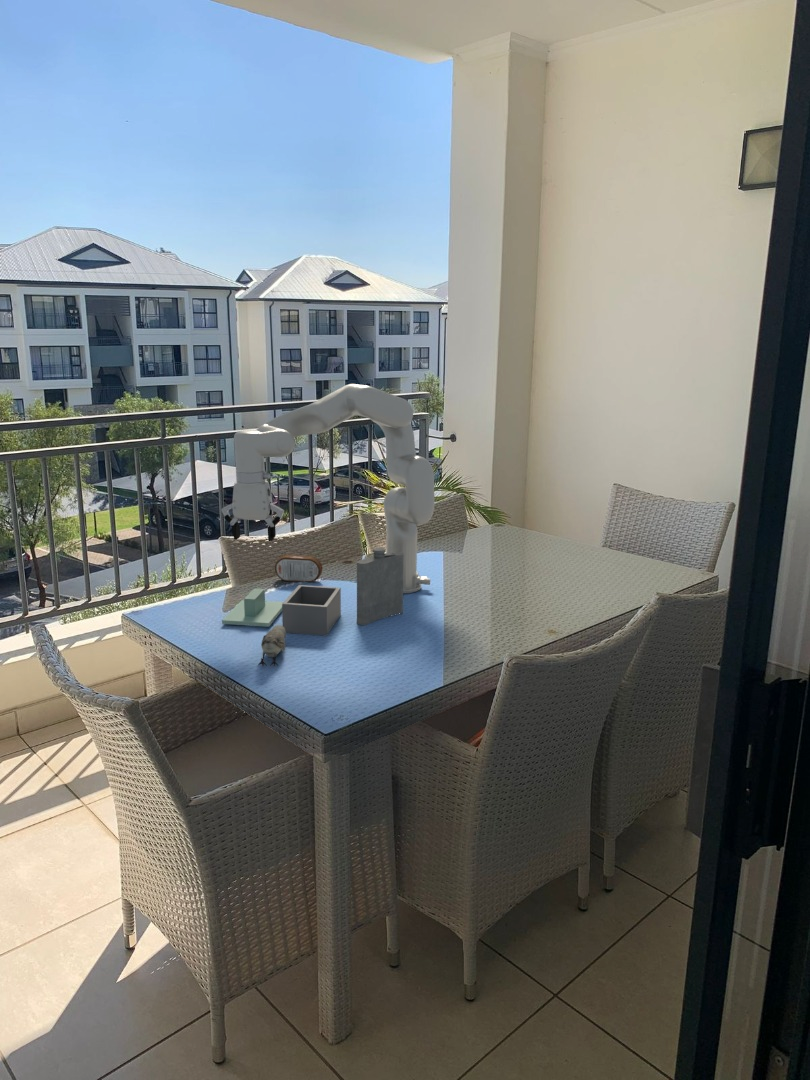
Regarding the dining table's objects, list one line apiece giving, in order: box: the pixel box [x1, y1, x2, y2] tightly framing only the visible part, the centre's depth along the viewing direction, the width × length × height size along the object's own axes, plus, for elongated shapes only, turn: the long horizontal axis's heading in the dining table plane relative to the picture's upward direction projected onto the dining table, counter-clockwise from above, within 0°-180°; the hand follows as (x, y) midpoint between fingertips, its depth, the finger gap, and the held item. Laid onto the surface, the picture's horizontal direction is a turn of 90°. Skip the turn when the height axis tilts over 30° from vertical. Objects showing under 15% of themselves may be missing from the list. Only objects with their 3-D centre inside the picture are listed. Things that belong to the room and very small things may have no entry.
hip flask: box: [356, 546, 404, 626], centre depth 218 cm, size 16×4×20 cm, turn 133°
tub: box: [281, 584, 342, 637], centre depth 214 cm, size 12×16×8 cm
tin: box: [274, 554, 323, 583], centre depth 249 cm, size 15×3×8 cm, turn 84°
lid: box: [221, 587, 284, 627], centre depth 218 cm, size 13×17×7 cm
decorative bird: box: [258, 624, 287, 667], centre depth 193 cm, size 5×16×8 cm, turn 178°
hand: (254, 539), depth 214 cm, fingers open, 9 cm apart
